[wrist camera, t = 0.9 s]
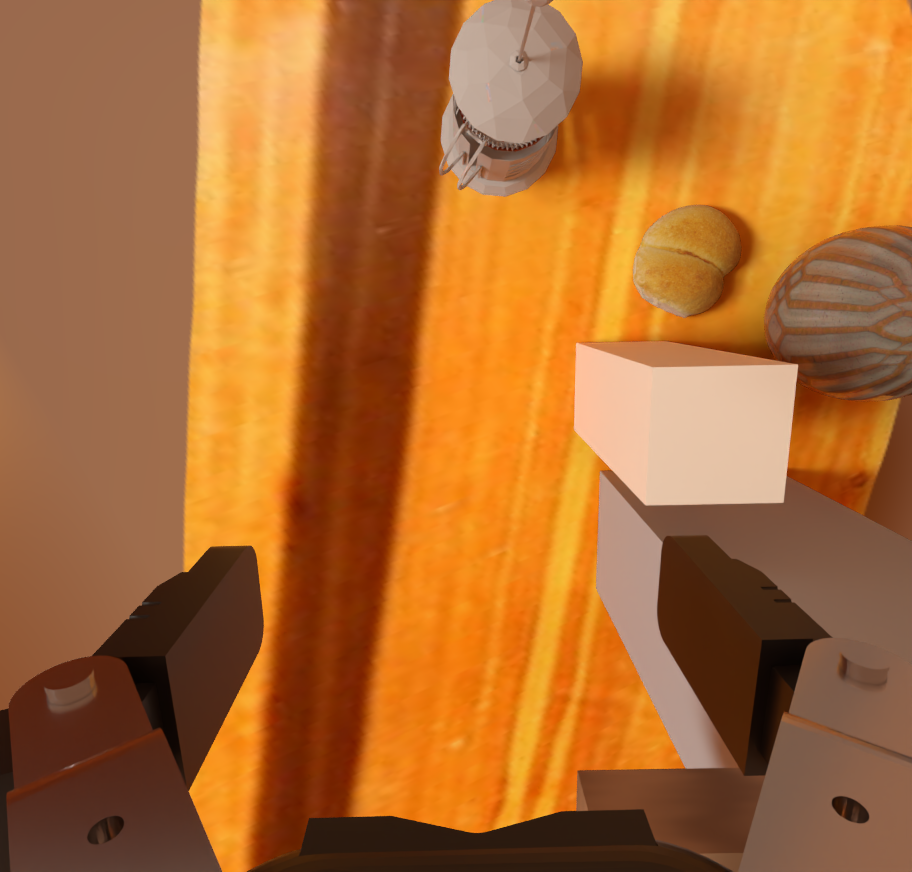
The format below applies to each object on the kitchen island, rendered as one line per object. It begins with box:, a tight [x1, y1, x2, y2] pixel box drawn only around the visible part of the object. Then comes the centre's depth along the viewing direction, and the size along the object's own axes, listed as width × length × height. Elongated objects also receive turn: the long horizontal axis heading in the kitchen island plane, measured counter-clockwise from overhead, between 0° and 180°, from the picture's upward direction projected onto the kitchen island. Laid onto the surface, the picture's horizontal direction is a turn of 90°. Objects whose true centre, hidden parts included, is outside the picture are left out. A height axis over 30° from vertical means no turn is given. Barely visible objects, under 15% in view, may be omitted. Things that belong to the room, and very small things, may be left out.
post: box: [574, 341, 798, 505], centre depth 44 cm, size 8×8×21 cm
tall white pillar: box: [596, 471, 912, 769], centre depth 41 cm, size 16×12×32 cm
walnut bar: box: [576, 768, 765, 872], centre depth 24 cm, size 24×4×4 cm, turn 91°
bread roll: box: [633, 205, 741, 318], centre depth 50 cm, size 8×9×4 cm
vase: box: [764, 225, 912, 402], centre depth 44 cm, size 13×13×18 cm
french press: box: [439, 0, 583, 196], centre depth 37 cm, size 10×12×25 cm
